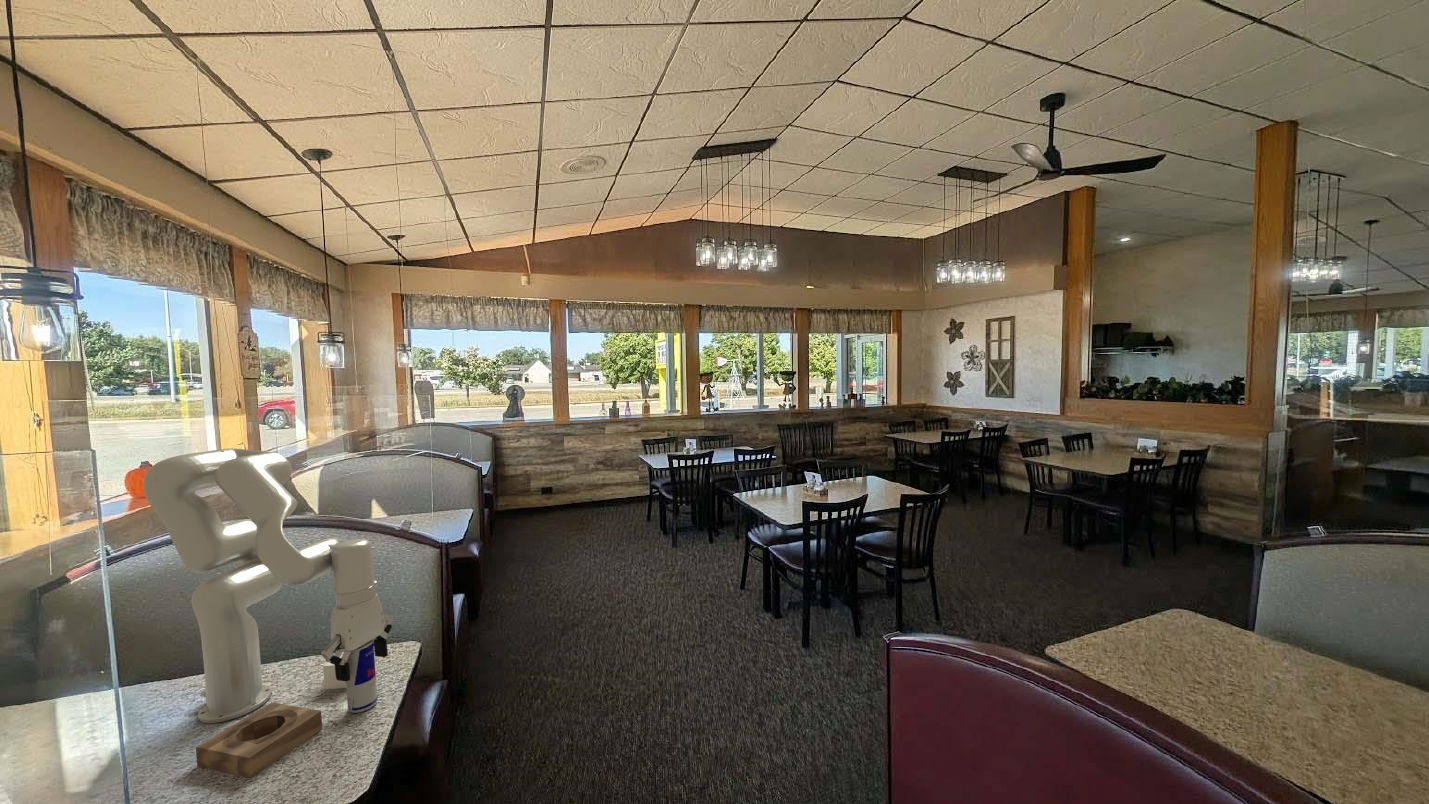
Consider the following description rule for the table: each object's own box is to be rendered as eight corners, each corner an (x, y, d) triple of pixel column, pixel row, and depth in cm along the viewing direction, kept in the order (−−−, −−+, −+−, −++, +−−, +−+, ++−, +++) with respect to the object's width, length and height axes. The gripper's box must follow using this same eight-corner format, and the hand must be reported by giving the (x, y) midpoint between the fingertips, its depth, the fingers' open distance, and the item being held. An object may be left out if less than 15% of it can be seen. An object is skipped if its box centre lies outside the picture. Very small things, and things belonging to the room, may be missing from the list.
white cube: (324, 689, 127) (323, 666, 126) (337, 678, 132) (335, 655, 131) (355, 687, 127) (353, 663, 127) (366, 675, 132) (365, 652, 132)
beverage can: (362, 715, 116) (358, 651, 115) (341, 713, 117) (337, 648, 116) (383, 700, 122) (379, 638, 121) (363, 697, 123) (359, 636, 122)
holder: (197, 766, 102) (195, 747, 102) (273, 719, 116) (271, 702, 115) (250, 778, 99) (249, 757, 98) (322, 728, 112) (321, 710, 112)
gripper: (375, 579, 127) (382, 646, 128) (305, 611, 111) (313, 689, 112) (401, 580, 125) (407, 649, 126) (332, 613, 109) (340, 692, 110)
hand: (363, 667), depth 119 cm, fingers open, 9 cm apart
